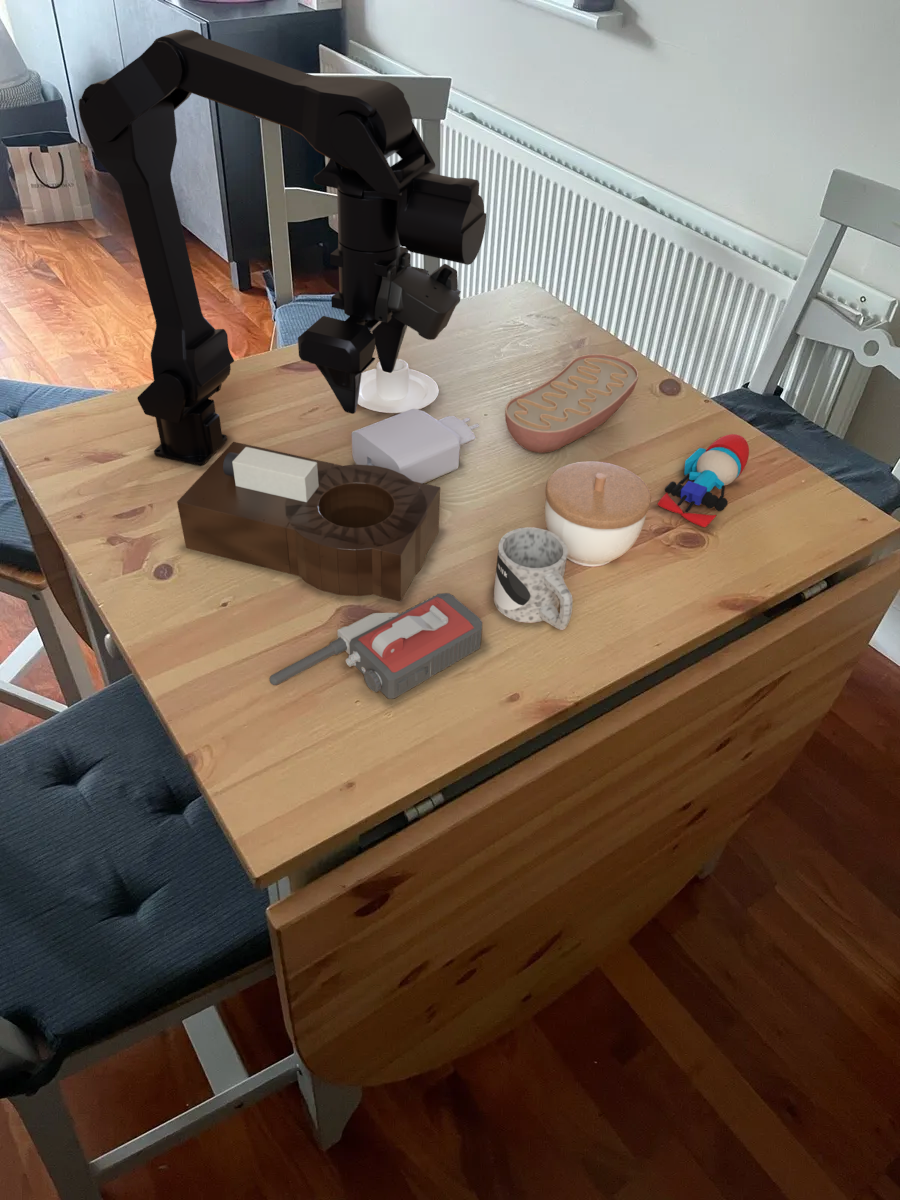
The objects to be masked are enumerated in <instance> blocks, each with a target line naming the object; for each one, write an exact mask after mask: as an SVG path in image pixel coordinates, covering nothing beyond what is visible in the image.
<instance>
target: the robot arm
mask: <svg viewBox="0 0 900 1200" xmlns="http://www.w3.org/2000/svg"><path fill="white" fill-rule="evenodd" d="M192 94H193V95H196V96H199V97H200V98H201V97H202V98H204V99H207V100H210V101H213V102H215V103H218V104H221V105H224V106H227V107H228V108H231V109H234V110H238V111H240V112H244V113H246V114H248V115H252V116H254V117H257V118H260V119H263V120H266V121H268V122H271V123H274V124H276V125H279V126H282V127H285V128H287V129H290V130H292V131H294V132H296V133H297V134H298V135H300V136H302V137H303V138H304V139H305V140H306V141H307V142H308V143H309V145H310V146H311V147H312V148H313V149H314V150H315V151H316V152H317V153H319V154H321V155H323V156H325V157H326V158H328V159H329V160H328V162H327V164H326V165H325V166H324V167H323V169H321V170H320V171H319V172H318V173H316V174H315V175H314V176H313V182H314V183H315V184H316V185H318V186H323V187H327V188H328V187H329V188H333V189H336V198H337V200H336V201H337V204H336V205H337V233H338V234H337V237H338V239H337V248H336V249H335V250H333V251H332V252H331V253H330V254H329V263H330V266H334V267H338V284H339V288H338V289H339V290H338V291H337V292H335V294H333V295H332V296H331V308H333V309H337V310H340V311H341V310H342V311H343V312H344V315H346V316H348V317H347V318H346V319H345V320H343V319H338V318H334V317H331V316H326V315H322V316H321V317H320V318H319V319H317V320H316V321H315V322H314V323H313V324H312V325H310V326H309V327H308V328H307V329H306V330H305V331H303V332H302V334H300V335H299V336H297V347H298V348H297V349H298V357H299V359H300V360H301V361H303V362H307V363H309V364H313V365H315V367H316V368H317V369H318V370H319V372H320V373H321V375H322V376H323V377H324V379H325V380H326V382H327V384H328V385H329V387H330V389H331V390H332V393H333V394H334V395H335V397H336V399H337V401H338V403H339V404H340V406H341V407H342V410H343V411H344V412H345V413H348V414H352V415H355V414H356V412H357V410H358V409H357V408H358V404H357V403H358V397H359V389H360V381H361V374H362V373H363V372H365V371H366V369H367V368H369V366H370V365H372V363H374V361H375V360H376V357H373V356H374V354H375V353H374V352H375V350H376V354H377V358H378V362H379V361H380V364H381V367H382V370H383V371H384V372H388V373H392V372H393V370H394V367H395V364H396V360H397V359H398V357H399V354H400V351H401V347H402V345H403V341H404V337H405V334H406V332H407V329H408V328H410V329H412V330H413V331H415V332H417V334H418V336H420V337H421V338H423V339H425V340H429V341H431V340H432V341H433V340H435V339H436V338H437V337H438V336H439V334H440V333H442V331H443V330H444V329H445V328H446V327H447V326H448V324H449V322H450V320H451V318H452V315H453V313H454V311H455V309H456V307H457V306H458V305H459V304H460V302H461V296H460V294H461V292H462V290H460V289H459V279H458V278H459V277H458V271H457V269H456V268H454V267H452V266H450V265H449V264H447V263H443V264H442V265H441V266H439V267H438V268H437V269H435V270H433V272H431V273H430V274H429V270H427V269H426V268H422V267H417V266H412V262H411V257H412V255H411V253H413V254H414V253H415V254H419V255H423V256H426V257H427V256H428V257H431V258H435V259H441V260H445V261H449V262H454V263H458V264H463V265H466V266H469V265H471V264H473V263H474V261H475V260H476V258H477V256H478V254H479V253H480V249H481V246H482V244H483V240H484V236H485V231H486V227H487V226H486V225H487V212H485V204H484V200H483V197H482V196H481V195H480V181H479V180H478V179H475V178H469V177H458V178H457V177H451V176H446V175H443V174H437V173H431V172H432V171H433V170H435V169H436V163H435V161H434V159H433V157H432V155H431V153H430V152H429V149H428V148H427V145H426V144H425V142H424V141H423V139H422V137H421V135H420V133H419V131H418V128H417V127H416V125H415V124H414V122H413V116H412V111H411V107H410V105H409V102H408V101H407V99H406V97H405V93H404V92H403V91H402V89H400V88H399V87H398V86H397V85H395V84H393V83H392V82H390V81H386V80H379V79H371V78H364V77H355V76H319V75H312V74H309V73H307V72H305V71H301V70H299V69H296V68H293V67H289V66H287V65H284V64H281V63H278V62H275V61H273V60H270V59H267V58H264V57H261V56H259V55H255V54H252V53H250V52H246V51H244V50H241V49H238V48H235V47H234V46H233V47H232V46H230V45H227V44H224V43H221V42H219V41H215V40H213V39H210V38H207V37H205V36H204V35H202V34H201V33H199V32H197V31H195V30H192V29H186V28H185V29H182V30H180V31H176V32H173V33H172V32H171V33H169V34H165V35H162V36H160V37H157V38H156V39H154V41H153V42H152V43H151V45H150V46H148V47H147V49H145V51H144V52H142V53H141V54H140V55H139V56H138V57H137V58H135V59H134V60H133V61H132V62H130V63H129V64H128V65H126V66H124V67H123V68H121V70H119V71H118V72H117V73H115V74H114V75H112V76H111V77H109V78H106V79H103V80H100V81H97V82H94V83H91V84H89V85H88V86H87V87H86V88H85V89H84V91H83V93H82V95H81V98H79V99H78V112H79V117H80V118H79V119H80V121H81V124H82V127H83V129H84V131H85V134H86V136H87V138H88V141H89V144H90V146H91V148H92V151H93V153H94V155H95V158H96V159H97V160H98V161H99V163H100V164H101V165H102V166H103V167H104V168H105V170H106V171H107V172H108V173H109V174H110V176H112V178H113V179H114V180H115V181H116V182H117V183H118V186H119V189H120V192H121V196H122V200H123V204H124V207H125V212H126V215H127V219H128V223H129V226H130V230H131V234H132V238H133V241H134V245H135V249H136V253H137V256H138V260H139V264H140V269H141V271H142V275H143V279H144V283H145V287H146V290H147V295H148V299H149V301H150V305H151V309H152V312H153V317H154V321H155V330H154V335H153V339H152V345H151V350H150V362H151V369H152V370H151V371H152V378H153V381H152V382H151V383H150V384H149V385H148V386H147V387H146V388H145V389H144V390H143V391H141V393H140V394H139V395H138V396H137V402H138V403H139V406H140V407H141V409H142V411H143V413H144V414H145V415H146V416H149V417H153V418H155V421H156V426H157V431H158V436H159V445H158V446H157V447H156V448H154V450H153V454H154V456H155V457H160V458H164V459H169V460H172V461H175V462H181V463H186V464H189V465H190V464H191V465H193V466H199V467H200V466H203V465H205V464H206V463H207V462H208V461H209V460H210V459H211V458H212V457H213V456H214V455H215V454H216V453H217V452H218V450H219V449H220V448H221V447H222V446H223V445H224V444H225V443H226V442H228V437H227V435H226V434H223V432H222V425H221V417H220V414H219V413H217V410H216V405H215V400H214V399H211V397H212V396H213V395H214V394H216V393H218V392H219V391H221V390H222V386H223V385H222V384H223V383H224V382H225V381H226V380H227V378H228V377H229V376H230V374H231V371H232V370H231V368H232V367H231V365H232V364H233V363H234V362H235V359H234V357H233V355H232V354H231V350H230V347H229V337H228V332H227V330H226V329H224V328H215V327H214V326H213V325H212V324H211V323H210V322H209V321H208V319H207V318H206V317H204V315H203V314H204V313H203V312H202V308H201V304H200V303H201V302H200V298H199V294H198V290H197V285H196V281H195V277H194V273H193V269H192V264H191V260H190V256H189V252H188V247H187V243H186V239H185V235H184V231H183V225H182V221H181V217H180V213H179V208H178V204H177V199H176V195H175V192H174V187H173V182H172V168H173V163H174V158H175V155H176V154H175V153H176V149H177V144H178V136H177V126H176V125H177V124H176V116H175V115H176V114H175V113H176V112H175V111H176V110H177V109H178V108H179V107H180V106H181V105H182V104H184V103H185V102H186V101H187V100H188V99H189V98H190V97H191V95H192ZM394 154H396V155H397V156H398V157H399V158H401V159H400V160H398V161H397V162H395V163H394V164H392V165H390V163H389V162H388V160H387V159H388V158H389V157H391V156H393V155H394Z"/></svg>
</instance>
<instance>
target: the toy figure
mask: <svg viewBox="0 0 900 1200" xmlns="http://www.w3.org/2000/svg"><path fill="white" fill-rule="evenodd" d="M749 455H750V448H749V443H748V441H747V439H746V438H744V437H743V436H742V435H740V434H736V433H731V434H725V435H723V436H720V437H719V438H717V439H716V440H715V441H713V442H712V443H711V444H710V445H709V446H708V447H707V448H702V447H699V448H697V450H695V451H694V452H693V453H692V454H691V455H690V456H689V457H688V458H686V459H685V461H684V462H685V463H684V473H683V476H685V477H683V478H682V479H681V480H680V481H679V482H678V483H677V482H675V481H674V480H673V481H670V482H669V483H667V485H666V486H665V488H664V492H665V494H663V496H662V497H661V498H660V499H659V500H658V502H657V506H659V507H660V508H662V509H664V510H667V511H669V512H672V513H676V514H679V515H680V516H681V517H682V518H684V519H685V520H687V521H688V522H690V523H692V524H695V525H697V526H699V527H701V528H706V527H708V526H709V525H710V524H711V522H712V521H713V520H714V519H715V518H716V517H717V514H703V513H693V512H690V511H691V509H692V507H693V506H695V505H696V506H700V505H702V506H705V507H706V508H707V509H715V511H717V512H723V511H724V510H725V509H726V507H727V506H728V504H729V500H728V499H727V498H726V497H725V489H726V486H728V485H730V484H731V483H733V482H734V481H735V480H736V479H737V478H739V476H740V475H742V473H743V472H744V470H745V468H746V466H747V463H748V460H749ZM688 479H689V480H688ZM686 481H687V482H686ZM685 482H686V483H685ZM684 483H685V484H684ZM683 484H684V485H683ZM714 488H717V489H718V490H720V491H721V492H720V496H719V497H718V496H717V495H716V494H713V492H711V491H712V490H713V489H714ZM669 494H671V495H672V496H674V497H675V496H676V498H680V499H679V501H678V502H677V503H676V502H675V501H674V500H673V499H672V498H671V497H670V495H669ZM685 501H686V502H688V503H689V504H688V506H687V507H686V508H685V509H684V510H683V509H682V508H681V507H680V506H682V504H683V503H684V502H685ZM683 511H685V512H683Z"/></svg>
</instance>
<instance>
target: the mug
mask: <svg viewBox="0 0 900 1200" xmlns="http://www.w3.org/2000/svg"><path fill="white" fill-rule="evenodd" d="M567 554H568V550H567V546H566V544H565V543H564V541H563V540H562V539H561V538H560V537H558V536H557V535H556V534H554V533H552V532H550V531H547V529H544V528H540V527H533V526H532V527H531V526H528V527H527V526H525V527H519V528H515V529H513V530H509V531H507V532H506V533H505V534H503V536H502V537H501V538H500V540H499V542H498V546H497V556H496V567H495V577H494V587H493V604H494V606H495V608H496V609H497V611H499V613H501V614H502V615H503V616H505V617H506V618H508V619H510V620H512V621H515V622H519V623H529V624H530V623H539V622H543V621H544V622H545V623H547V624H549V625H551V626H552V627H554V628H556V629H558V630H560V631H564V630H565V629H566V628H567V627H568V625H569V623H570V621H571V618H572V614H573V602H574V601H573V595H572V593H571V591H570V590H569V588H568V586H567V584H566V583H565V580H564V579H565V578H564V577H565V572H566V566H567V561H568V559H567Z"/></svg>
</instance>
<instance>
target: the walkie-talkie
mask: <svg viewBox="0 0 900 1200" xmlns="http://www.w3.org/2000/svg"><path fill="white" fill-rule="evenodd" d="M482 630H483V621H482V620H481V618H480V617H479V616H478V615H477V614H475V612H473V611H472V610H471V609H469V608H468V607H467V606H466V605H464V604H463V603H462V602H461V601H460V600H458V599H457V598H456V597H455V596H454V595H453V594H451V593H449V592H443V593H437V594H435V595H432V596H431V597H429V598H427V599H426V600H423V601H422V602H419V603H418V604H416V605H414V606H413V607H410V608H409V609H406V610H405V611H402V612H401V613H399V612H398V611H397V612H373V613H370V614H368V615H367V616H364V617H362V618H360V619H359V620H357V621H355V622H353V623H351V624H349V625H346V626H342V627H340V628H339V629H337V633H336V634H337V638H336V639H334V640H332V641H330V642H329V644H328V645H326V646H324V647H322V648H320V649H318V650H316V651H314V652H313V653H311V654H309V655H307V656H304V657H303V658H301V659H300V660H297V661H295V662H293V663H291V664H289V665H288V666H286V667H284V668H282V669H280V670H278V671H276V672H275V673H273V674H271V675H270V676H269V678H268V679H269V680H268V681H269V683H270V685H272V686H278V685H280V684H282V683H283V682H286V681H288V680H290V679H292V678H294V677H296V675H299V674H301V673H303V672H304V671H307V670H308V669H310V668H312V667H314V666H316V665H317V664H319V663H322V662H323V661H325V660H327V659H329V658H331V657H334V655H335V656H338V655H340V654H341V653H343V652H346V654H348V657H347V658H345V663H346V664H347V666H348V667H352V666H353V667H355V668H356V669H357V670H358V671H359V672H360V673H361V674H362V675H363V679H364V682H365V684H366V685H367V687H368V688H369V690H371V691H372V692H374V693H378V692H381V693H382V694H383V695H384V696H385V697H386V698H387V700H388V699H396V698H398V697H400V696H401V695H403V694H404V693H406V692H408V691H409V690H411V689H413V688H415V687H417V686H418V685H420V684H422V683H423V682H426V681H427V680H429V679H430V678H432V677H433V676H436V675H437V674H438V673H440V672H442V671H443V670H446V669H447V668H449V667H451V666H452V665H454V664H455V663H457V662H459V661H460V660H462V659H464V658H466V657H468V656H469V655H472V654H473V653H474V652H476V651H478V650H479V649H481V643H482V642H481V641H482V634H483V633H482V632H483V631H482Z"/></svg>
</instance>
